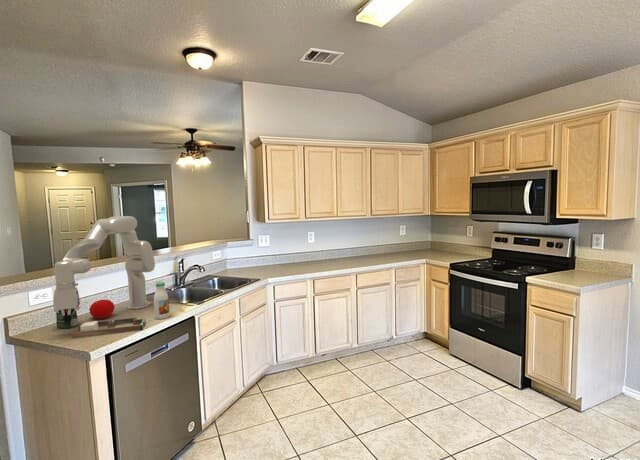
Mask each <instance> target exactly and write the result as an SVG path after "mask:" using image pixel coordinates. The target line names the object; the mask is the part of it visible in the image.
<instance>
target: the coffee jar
mask: <svg viewBox="0 0 640 460" xmlns="http://www.w3.org/2000/svg"><path fill="white" fill-rule="evenodd" d="M66 311H67V314H68V309H66ZM77 311H78V310H76V311H74V312H73V313H72V314H71V315H72V320H71V322H70V323H66V324H65V321H64V320H63V316H62V314H61V313H59V312H55V315H56V317H55V318H56V319H55V320H56V323H55V324H56V327H57V328H59V329H72V328H75V327H76V326H77V325H79V320H78V313H77Z"/></svg>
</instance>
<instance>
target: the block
mask: <svg viewBox="0 0 640 460" xmlns="http://www.w3.org/2000/svg"><path fill="white" fill-rule="evenodd" d="M98 322H99V321H97V320H94V321H87V322H86V321H85V322H83V323H82V324H81V325H79V326H80V329H81V331H80V332H84V331H92V330H99V327H98Z"/></svg>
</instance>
